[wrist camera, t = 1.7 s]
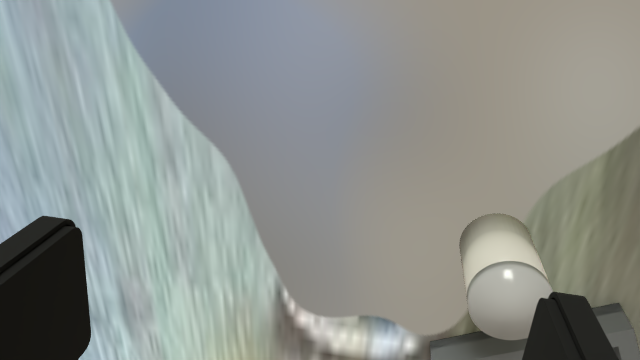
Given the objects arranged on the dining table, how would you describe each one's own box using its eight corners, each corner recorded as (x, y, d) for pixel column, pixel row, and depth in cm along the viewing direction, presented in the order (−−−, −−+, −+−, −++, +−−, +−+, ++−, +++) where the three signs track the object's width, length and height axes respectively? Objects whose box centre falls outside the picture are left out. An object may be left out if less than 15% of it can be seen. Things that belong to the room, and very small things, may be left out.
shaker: (521, 205, 38) (544, 260, 31) (539, 265, 40) (564, 330, 33) (450, 224, 39) (457, 281, 33) (470, 281, 41) (481, 347, 34)
